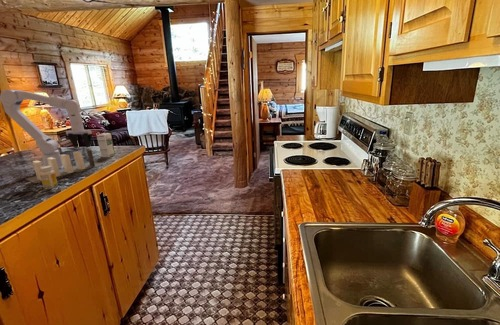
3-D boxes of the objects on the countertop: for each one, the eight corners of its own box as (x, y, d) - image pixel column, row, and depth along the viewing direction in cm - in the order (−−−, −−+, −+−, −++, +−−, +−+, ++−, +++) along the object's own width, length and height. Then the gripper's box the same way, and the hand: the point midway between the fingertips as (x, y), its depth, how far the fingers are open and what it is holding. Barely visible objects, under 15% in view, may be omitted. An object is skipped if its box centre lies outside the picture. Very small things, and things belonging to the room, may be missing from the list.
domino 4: (81, 169, 141) (77, 153, 138) (76, 168, 143) (72, 152, 141) (85, 168, 142) (81, 152, 140) (80, 167, 145) (76, 151, 142)
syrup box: (109, 157, 163) (104, 134, 159) (101, 157, 165) (96, 134, 160) (115, 155, 169) (111, 132, 164) (107, 155, 170) (102, 132, 166)
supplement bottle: (45, 190, 115) (39, 169, 113) (42, 187, 119) (36, 167, 116) (60, 186, 119) (54, 166, 117) (56, 184, 123) (50, 164, 120)
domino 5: (90, 166, 145) (87, 150, 142) (89, 164, 149) (86, 149, 146) (95, 166, 146) (91, 150, 143) (93, 164, 150) (90, 148, 147)
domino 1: (41, 180, 126) (36, 162, 124) (37, 179, 129) (32, 161, 126) (46, 179, 128) (41, 161, 125) (42, 177, 131) (37, 160, 128)
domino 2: (56, 176, 131) (51, 159, 128) (51, 175, 134) (46, 158, 131) (60, 175, 133) (55, 158, 130) (56, 174, 135) (51, 157, 133)
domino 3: (69, 173, 136) (64, 156, 133) (64, 171, 139) (60, 155, 136) (73, 172, 137) (69, 155, 135) (68, 170, 140) (64, 154, 137)
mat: (25, 179, 130) (24, 178, 130) (93, 161, 156) (93, 160, 156) (35, 184, 124) (34, 183, 124) (104, 164, 150) (104, 163, 150)
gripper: (58, 124, 142) (65, 148, 146) (82, 123, 139) (88, 148, 143) (69, 122, 148) (75, 145, 152) (92, 121, 146) (97, 145, 150)
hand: (82, 146), depth 148 cm, fingers open, 7 cm apart
